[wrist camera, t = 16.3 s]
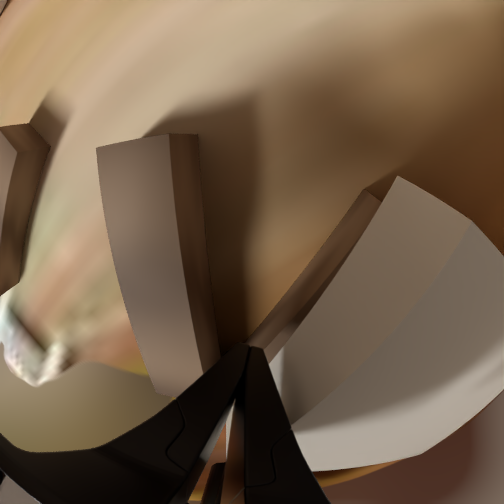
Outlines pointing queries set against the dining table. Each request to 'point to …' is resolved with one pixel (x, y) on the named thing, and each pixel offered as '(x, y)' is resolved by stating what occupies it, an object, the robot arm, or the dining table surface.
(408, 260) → the slab
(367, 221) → the bar
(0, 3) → the white cup
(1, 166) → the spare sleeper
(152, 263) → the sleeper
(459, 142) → the dining table surface
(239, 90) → the dining table surface
